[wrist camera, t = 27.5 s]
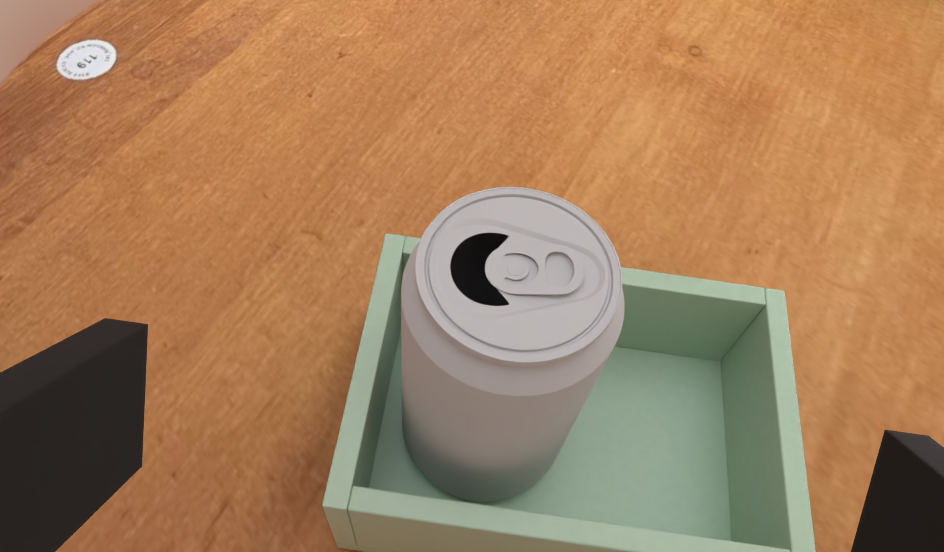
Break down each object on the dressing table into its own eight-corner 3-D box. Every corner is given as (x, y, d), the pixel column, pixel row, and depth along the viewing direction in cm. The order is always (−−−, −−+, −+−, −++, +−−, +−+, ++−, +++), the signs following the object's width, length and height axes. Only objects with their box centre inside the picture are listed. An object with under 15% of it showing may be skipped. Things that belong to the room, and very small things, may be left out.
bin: (337, 547, 28) (321, 506, 23) (389, 307, 34) (385, 232, 29) (748, 608, 28) (820, 579, 23) (730, 356, 34) (785, 290, 29)
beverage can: (407, 353, 32) (407, 167, 22) (557, 360, 32) (626, 181, 22) (396, 504, 28) (389, 366, 18) (563, 511, 28) (649, 380, 18)
